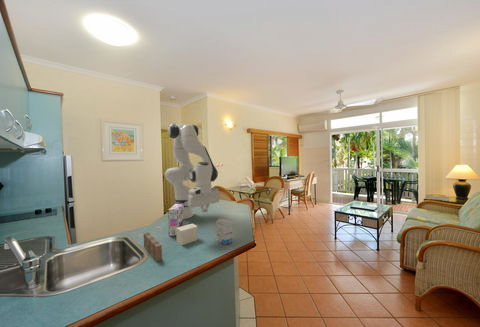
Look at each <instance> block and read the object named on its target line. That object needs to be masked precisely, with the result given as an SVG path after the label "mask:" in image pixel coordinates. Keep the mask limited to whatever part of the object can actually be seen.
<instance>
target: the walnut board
mask: <svg viewBox="0 0 480 327" xmlns="http://www.w3.org/2000/svg"><path fill="white" fill-rule="evenodd" d="M162 246H163V245H162V244H161V243H160V242H159V241H158V240H157V239H156V238H155V237H154V236H153V235H152V234H151V233H150V232H144V233H143V247H144V248H145V250H146V251H147V252H148V253H149V254H150V255H151V257H152V258H153V259H154V260H155V262H160V261H162V260H163V252H162V248H163V247H162Z"/></svg>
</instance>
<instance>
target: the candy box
mask: <svg viewBox="0 0 480 327" xmlns="http://www.w3.org/2000/svg"><path fill="white" fill-rule="evenodd" d="M174 204H175V203H174ZM174 204H173V205H174ZM173 205H172V206H173ZM172 206H171V207H170V208H168V210H167V211H168V213H167V214H168V237H177V234H176V228H178V227H182V226H185V225H186V224H185V219H184V204H175V205H174V206H173V207H172Z"/></svg>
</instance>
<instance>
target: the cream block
mask: <svg viewBox="0 0 480 327" xmlns="http://www.w3.org/2000/svg"><path fill="white" fill-rule="evenodd" d="M184 225H185V226H182V227H178V228H176V234H177V236H176V243H178V245H180V246H183V245H187V244H189V243H192V242H196V241H198V240H199V234H198V230H199V229H198V228H199V227H198V225H197V224H194V223H190V224H184Z"/></svg>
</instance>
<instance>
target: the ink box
mask: <svg viewBox="0 0 480 327" xmlns="http://www.w3.org/2000/svg"><path fill="white" fill-rule="evenodd" d="M216 241H217V242H219V243H221V244H223V245H225V246H227V245H229V244H231V243H233V221H231V220H228V219H226V218H219V219H217V220H216Z"/></svg>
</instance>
